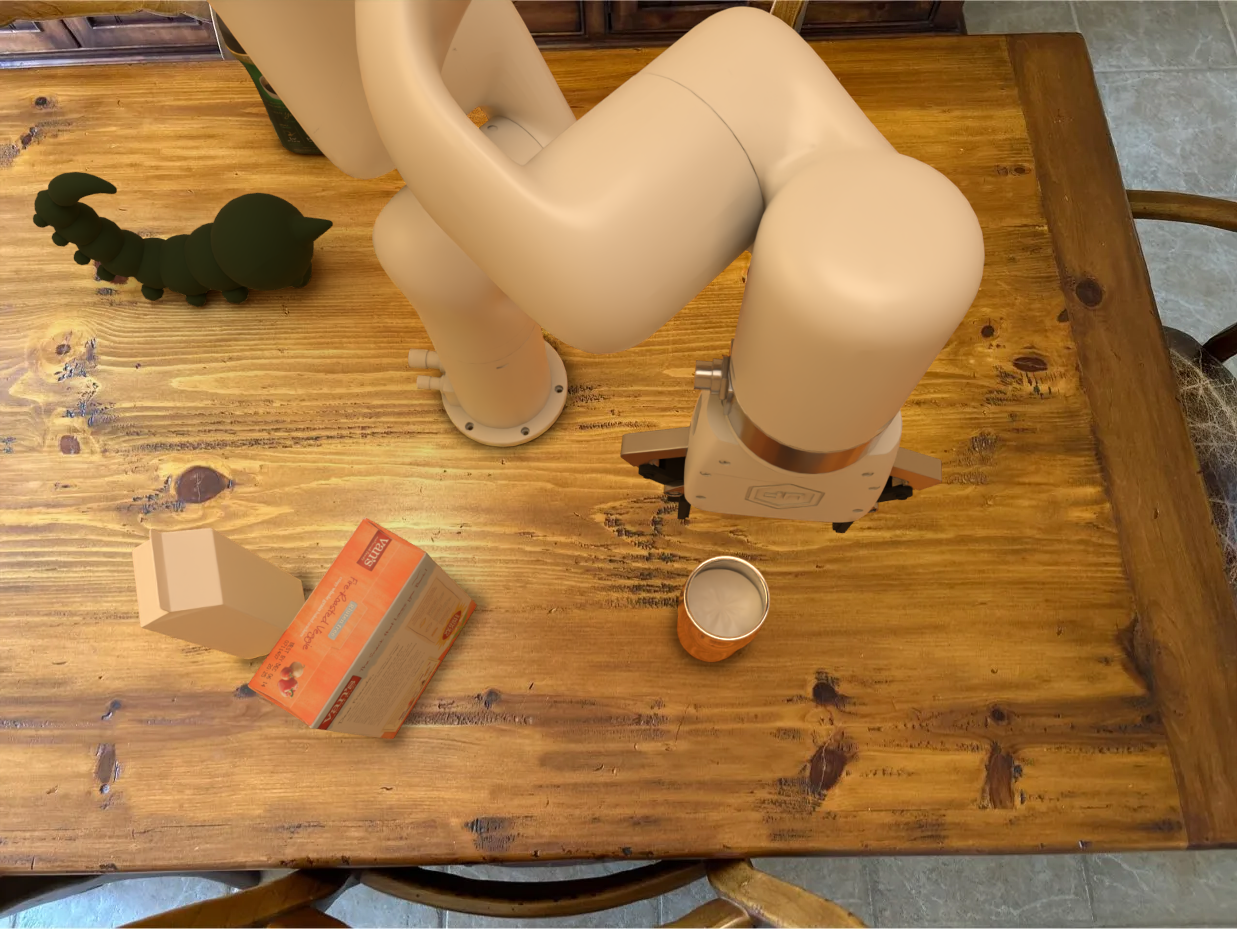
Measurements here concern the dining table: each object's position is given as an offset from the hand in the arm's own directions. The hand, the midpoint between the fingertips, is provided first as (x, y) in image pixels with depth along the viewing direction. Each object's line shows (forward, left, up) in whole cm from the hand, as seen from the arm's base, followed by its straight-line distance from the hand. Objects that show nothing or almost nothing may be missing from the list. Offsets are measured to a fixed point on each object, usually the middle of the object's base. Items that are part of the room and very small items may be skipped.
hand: (760, 503), depth 55 cm
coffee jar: (-48, +48, -28) cm, 74 cm away
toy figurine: (-53, +29, -28) cm, 66 cm away
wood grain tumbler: (-1, -4, -28) cm, 29 cm away
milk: (-41, -6, -28) cm, 50 cm away
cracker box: (-28, -9, -28) cm, 40 cm away
